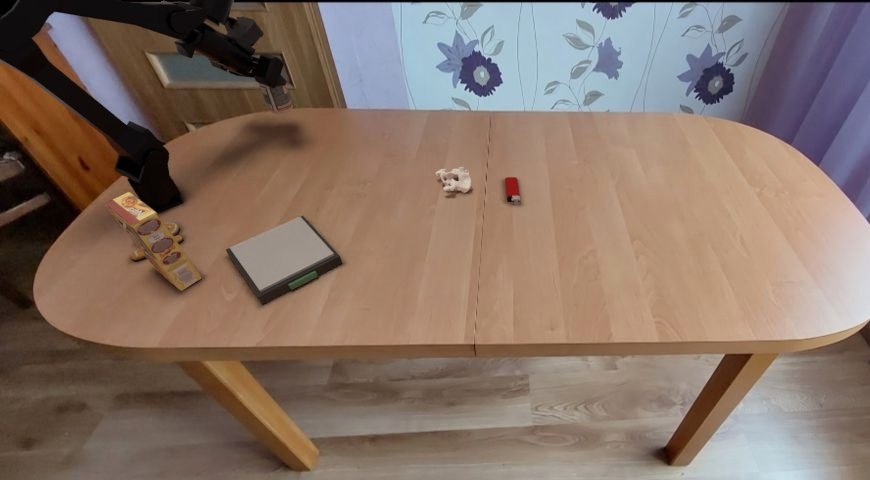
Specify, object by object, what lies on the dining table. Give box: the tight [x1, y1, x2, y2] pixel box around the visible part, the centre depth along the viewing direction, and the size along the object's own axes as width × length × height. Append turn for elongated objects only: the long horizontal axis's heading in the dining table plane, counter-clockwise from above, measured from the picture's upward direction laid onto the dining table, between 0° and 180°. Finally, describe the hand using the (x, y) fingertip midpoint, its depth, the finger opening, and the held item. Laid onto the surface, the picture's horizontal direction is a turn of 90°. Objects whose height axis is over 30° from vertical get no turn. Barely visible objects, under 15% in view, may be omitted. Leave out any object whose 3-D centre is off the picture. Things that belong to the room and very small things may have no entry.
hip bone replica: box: [435, 166, 472, 194], centre depth 101 cm, size 8×4×7 cm
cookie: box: [129, 222, 183, 261], centre depth 88 cm, size 8×1×10 cm
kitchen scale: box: [225, 215, 343, 305], centre depth 85 cm, size 15×16×3 cm
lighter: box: [504, 176, 521, 205], centre depth 101 cm, size 3×1×8 cm
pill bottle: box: [258, 83, 294, 115], centre depth 109 cm, size 6×6×10 cm
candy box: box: [104, 191, 202, 292], centre depth 78 cm, size 9×4×15 cm, turn 54°
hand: (276, 80), depth 109 cm, fingers closed on pill bottle, 6 cm apart
